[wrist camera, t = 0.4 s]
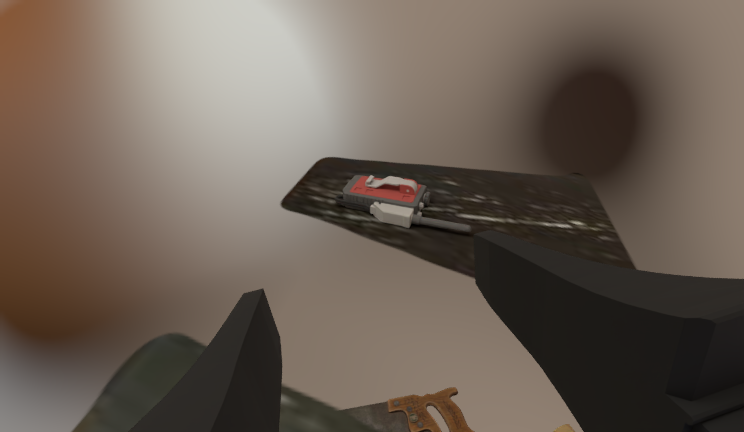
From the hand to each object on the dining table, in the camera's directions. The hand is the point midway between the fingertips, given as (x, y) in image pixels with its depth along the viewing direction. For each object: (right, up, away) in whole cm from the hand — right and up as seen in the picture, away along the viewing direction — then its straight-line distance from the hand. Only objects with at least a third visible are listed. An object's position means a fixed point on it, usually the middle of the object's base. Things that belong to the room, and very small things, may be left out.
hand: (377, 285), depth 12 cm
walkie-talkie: (+4, +3, +42) cm, 42 cm away
